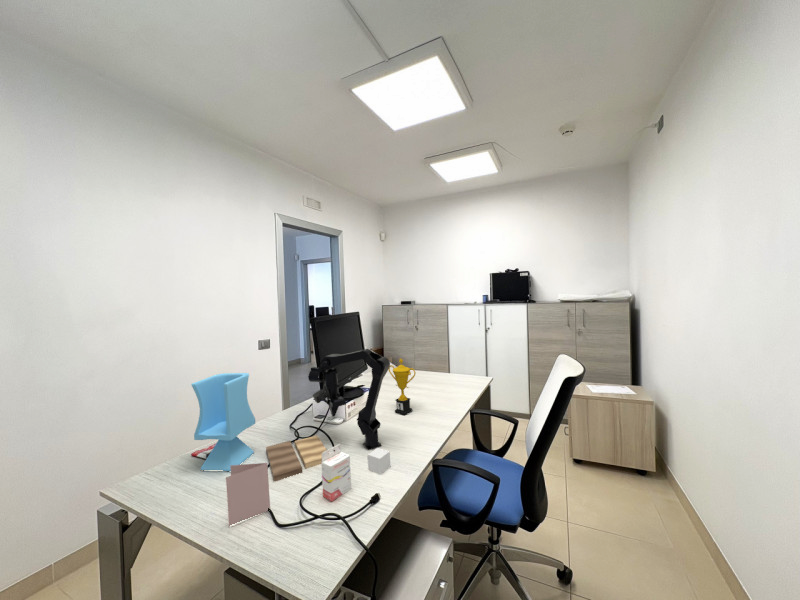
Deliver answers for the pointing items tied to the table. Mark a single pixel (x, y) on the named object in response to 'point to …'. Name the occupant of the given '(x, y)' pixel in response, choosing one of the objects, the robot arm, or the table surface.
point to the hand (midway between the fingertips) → (333, 416)
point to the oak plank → (310, 451)
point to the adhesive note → (379, 460)
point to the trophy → (402, 387)
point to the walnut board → (283, 460)
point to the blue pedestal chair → (224, 418)
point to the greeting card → (247, 491)
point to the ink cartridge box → (335, 473)
